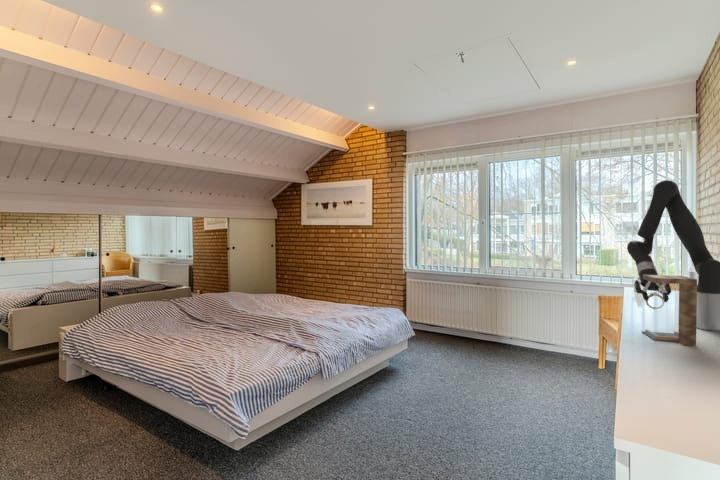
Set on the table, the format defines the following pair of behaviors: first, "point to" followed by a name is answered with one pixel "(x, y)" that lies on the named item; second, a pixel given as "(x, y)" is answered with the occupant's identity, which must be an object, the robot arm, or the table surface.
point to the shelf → (683, 305)
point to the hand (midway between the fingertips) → (656, 300)
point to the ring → (658, 296)
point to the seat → (662, 336)
